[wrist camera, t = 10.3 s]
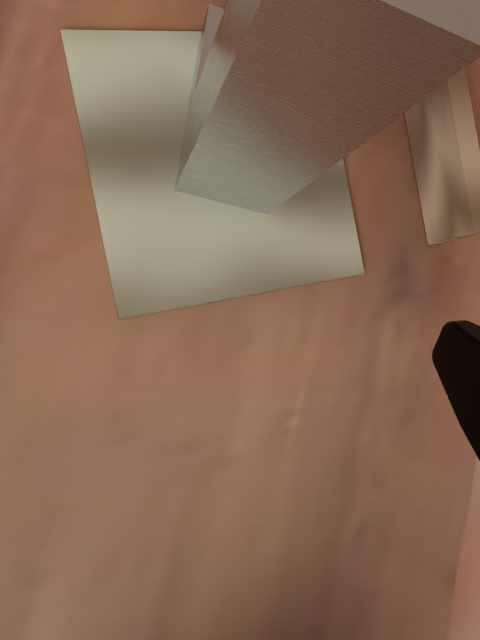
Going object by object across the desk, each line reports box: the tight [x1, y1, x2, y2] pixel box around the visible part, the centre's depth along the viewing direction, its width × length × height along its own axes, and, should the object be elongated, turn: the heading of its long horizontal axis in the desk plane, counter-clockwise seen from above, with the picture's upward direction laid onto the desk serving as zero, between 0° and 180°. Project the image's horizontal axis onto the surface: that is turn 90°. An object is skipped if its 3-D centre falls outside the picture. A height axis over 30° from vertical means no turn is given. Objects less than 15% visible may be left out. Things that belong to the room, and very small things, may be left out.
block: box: [174, 0, 480, 215], centre depth 14 cm, size 8×4×12 cm, turn 171°
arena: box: [61, 30, 480, 319], centre depth 18 cm, size 15×23×3 cm
